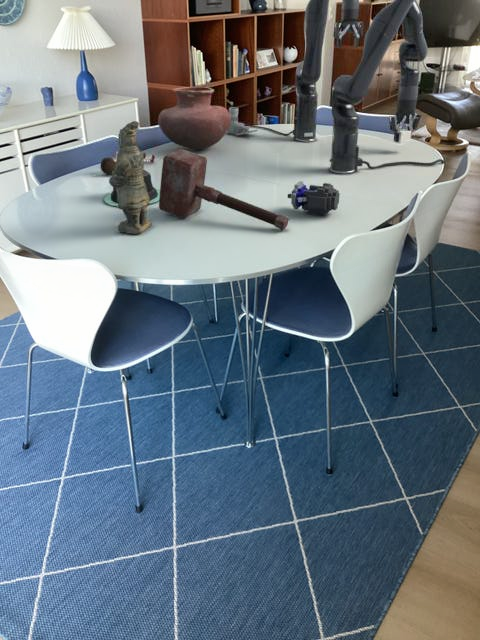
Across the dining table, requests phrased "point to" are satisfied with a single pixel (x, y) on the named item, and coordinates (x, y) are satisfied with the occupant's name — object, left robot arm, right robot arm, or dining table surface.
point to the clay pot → (194, 119)
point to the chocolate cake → (152, 192)
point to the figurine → (109, 163)
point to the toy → (315, 198)
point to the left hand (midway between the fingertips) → (347, 47)
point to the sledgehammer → (200, 190)
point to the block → (404, 136)
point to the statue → (131, 182)
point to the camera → (237, 124)
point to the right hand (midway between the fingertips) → (402, 140)
